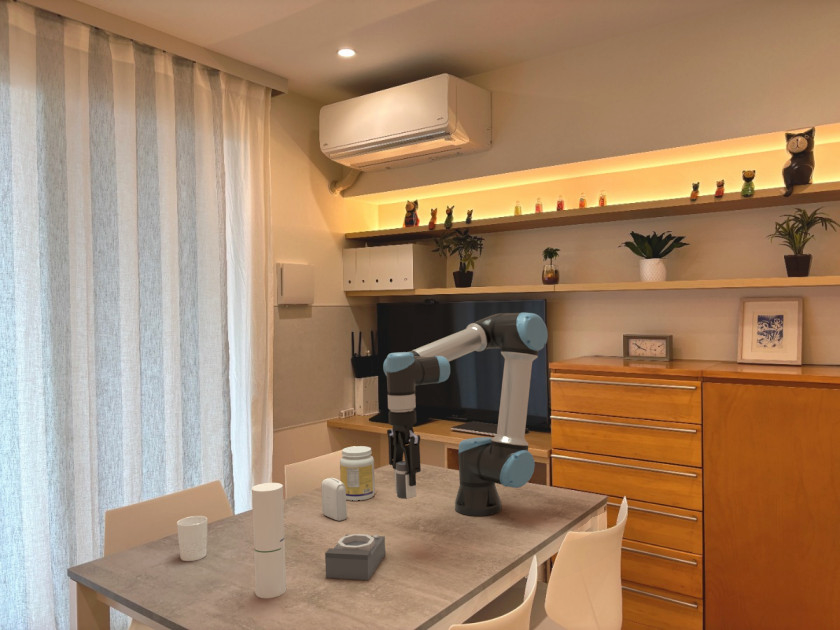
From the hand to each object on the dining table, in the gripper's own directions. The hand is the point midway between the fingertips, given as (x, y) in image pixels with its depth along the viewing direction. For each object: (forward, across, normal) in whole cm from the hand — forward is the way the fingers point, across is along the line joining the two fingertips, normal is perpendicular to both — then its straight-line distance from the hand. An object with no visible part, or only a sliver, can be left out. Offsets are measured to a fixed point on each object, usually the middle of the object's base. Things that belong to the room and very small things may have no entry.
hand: (405, 494), depth 169 cm
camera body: (+16, +1, +15) cm, 22 cm away
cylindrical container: (+16, 0, +39) cm, 42 cm away
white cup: (+16, +34, +48) cm, 61 cm away
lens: (0, 0, 0) cm, 0 cm away
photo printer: (+16, +40, +3) cm, 43 cm away
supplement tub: (+16, +54, -13) cm, 58 cm away
